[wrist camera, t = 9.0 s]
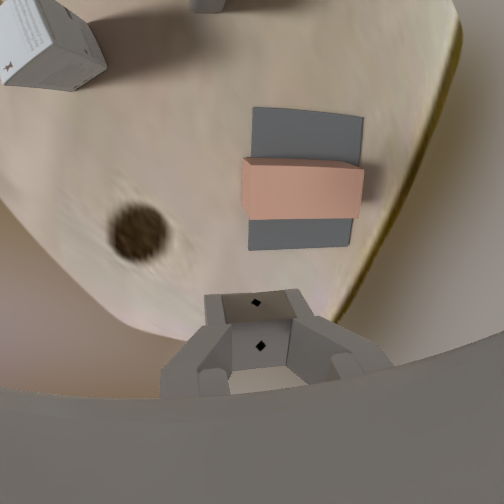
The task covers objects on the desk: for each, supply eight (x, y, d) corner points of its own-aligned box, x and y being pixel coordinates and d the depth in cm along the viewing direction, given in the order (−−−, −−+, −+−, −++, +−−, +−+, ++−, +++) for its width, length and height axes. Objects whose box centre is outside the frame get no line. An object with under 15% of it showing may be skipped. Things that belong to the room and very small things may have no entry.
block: (251, 165, 24) (364, 169, 26) (242, 157, 28) (342, 161, 30) (249, 219, 26) (358, 218, 28) (241, 204, 30) (338, 204, 32)
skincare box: (110, 68, 23) (60, 43, 12) (70, 94, 23) (2, 90, 12) (86, 19, 20) (32, -23, 9) (47, 46, 20) (-22, 23, 10)
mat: (252, 107, 27) (253, 107, 27) (360, 117, 29) (362, 117, 29) (248, 249, 33) (248, 250, 32) (346, 245, 35) (347, 246, 34)
